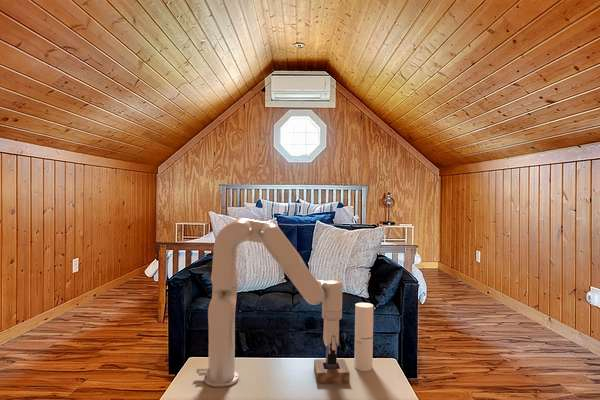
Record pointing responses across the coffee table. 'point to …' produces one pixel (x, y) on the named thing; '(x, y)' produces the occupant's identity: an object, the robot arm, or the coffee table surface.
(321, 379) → the socket block
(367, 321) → the cylindrical container
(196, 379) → the coffee table surface
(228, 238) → the robot arm
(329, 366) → the peg
